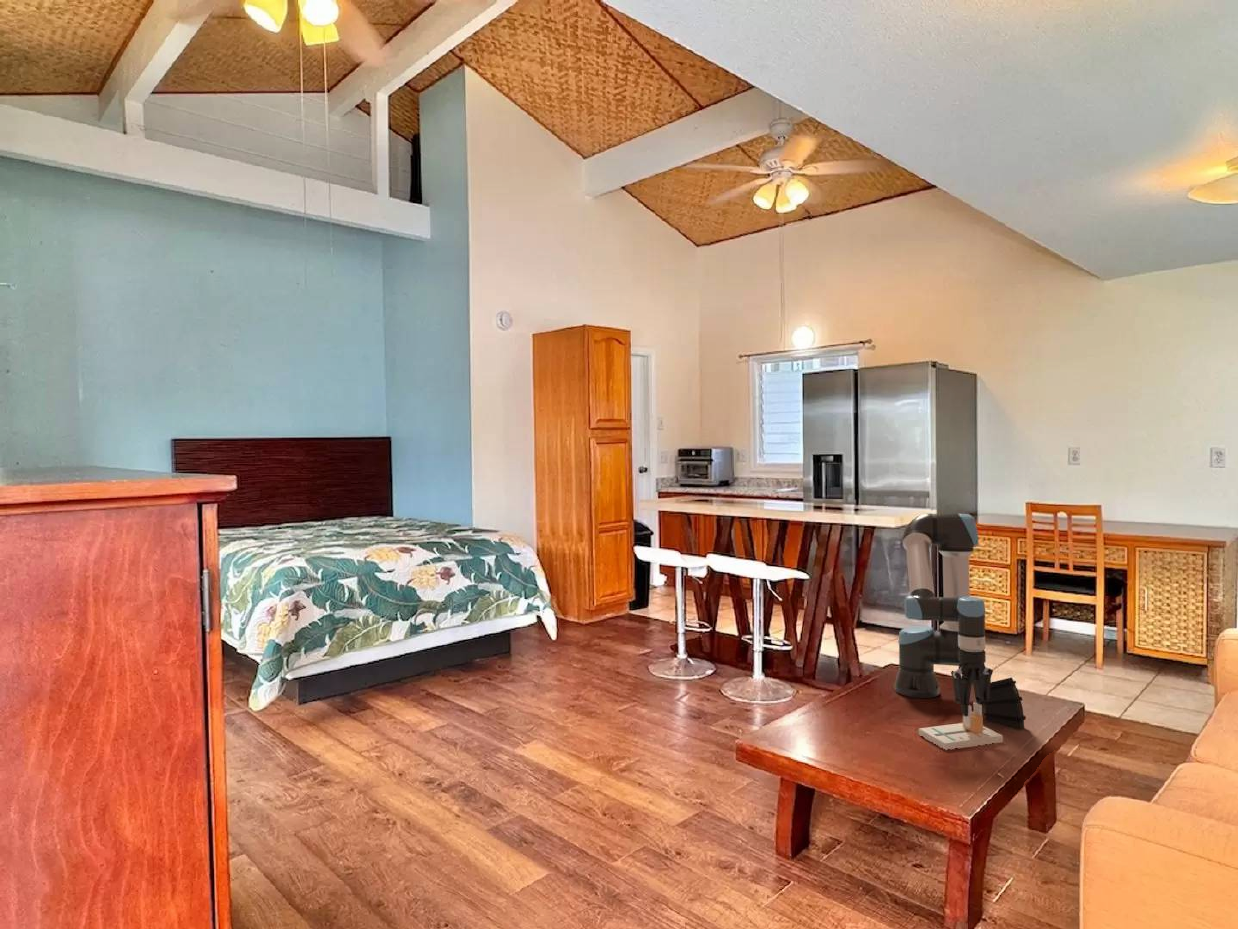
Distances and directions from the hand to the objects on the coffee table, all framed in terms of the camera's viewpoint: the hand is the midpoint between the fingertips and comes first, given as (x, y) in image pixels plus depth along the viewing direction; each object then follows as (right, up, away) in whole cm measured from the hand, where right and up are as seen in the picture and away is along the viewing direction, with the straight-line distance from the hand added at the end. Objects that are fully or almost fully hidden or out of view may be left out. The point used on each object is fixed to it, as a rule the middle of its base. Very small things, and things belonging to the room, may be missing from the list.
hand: (972, 725), depth 221 cm
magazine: (+14, -3, +11) cm, 18 cm away
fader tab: (0, -1, 0) cm, 1 cm away
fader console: (-4, -4, -1) cm, 6 cm away
